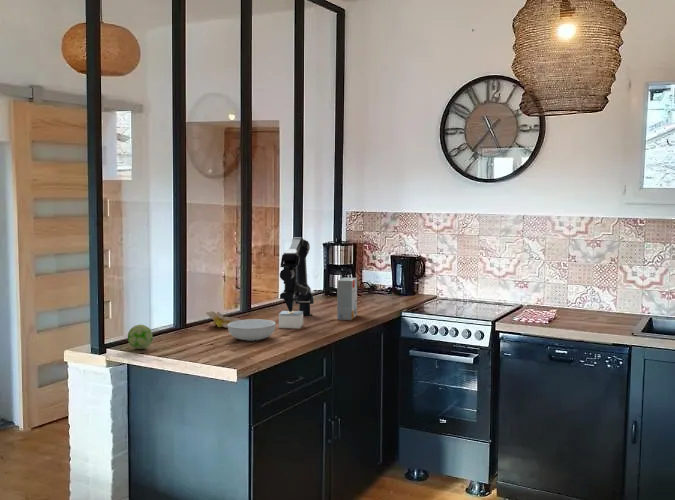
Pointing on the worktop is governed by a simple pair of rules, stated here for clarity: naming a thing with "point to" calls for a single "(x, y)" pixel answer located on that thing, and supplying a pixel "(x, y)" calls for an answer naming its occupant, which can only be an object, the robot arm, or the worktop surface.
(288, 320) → the keepsake box
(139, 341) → the decorative ball
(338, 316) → the hard drive box
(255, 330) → the serving bowl
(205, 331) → the worktop surface
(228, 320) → the decorative flower
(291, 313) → the lid
